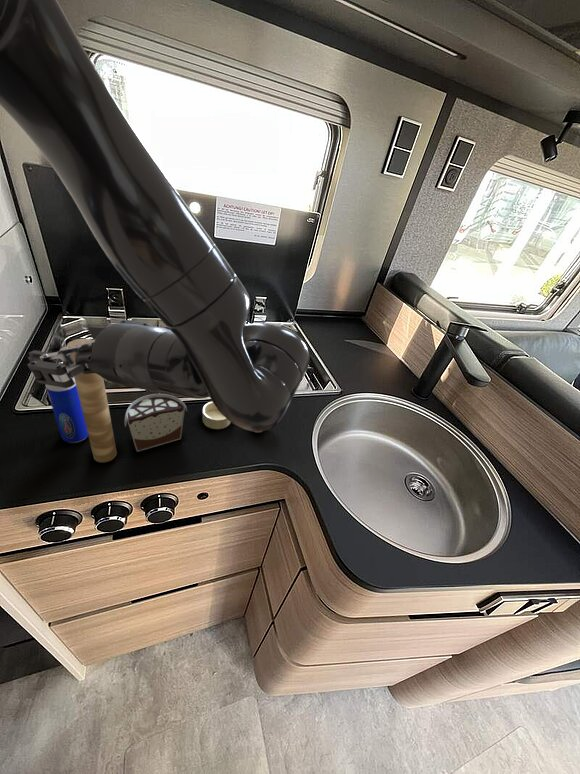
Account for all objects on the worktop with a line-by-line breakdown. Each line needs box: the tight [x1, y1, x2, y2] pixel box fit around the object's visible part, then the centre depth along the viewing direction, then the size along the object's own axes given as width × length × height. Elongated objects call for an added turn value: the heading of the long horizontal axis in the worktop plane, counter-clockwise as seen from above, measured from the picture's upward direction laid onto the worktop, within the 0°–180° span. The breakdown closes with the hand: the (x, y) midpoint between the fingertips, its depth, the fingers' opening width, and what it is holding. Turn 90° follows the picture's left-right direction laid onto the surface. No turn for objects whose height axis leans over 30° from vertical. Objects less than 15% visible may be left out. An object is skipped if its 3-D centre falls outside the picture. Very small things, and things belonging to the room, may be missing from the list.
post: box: [66, 338, 118, 464], centre depth 61 cm, size 4×4×26 cm
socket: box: [201, 401, 232, 430], centre depth 81 cm, size 7×7×3 cm
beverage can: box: [44, 377, 88, 444], centre depth 66 cm, size 5×5×15 cm
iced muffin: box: [123, 393, 188, 453], centre depth 72 cm, size 12×6×10 cm, turn 123°
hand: (65, 344), depth 47 cm, fingers open, 8 cm apart
